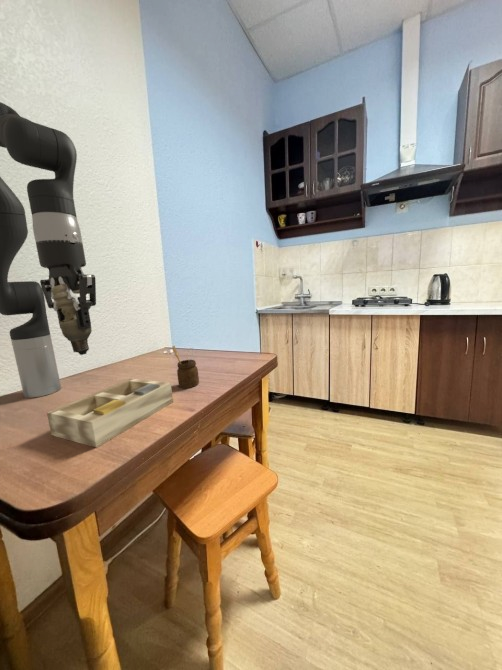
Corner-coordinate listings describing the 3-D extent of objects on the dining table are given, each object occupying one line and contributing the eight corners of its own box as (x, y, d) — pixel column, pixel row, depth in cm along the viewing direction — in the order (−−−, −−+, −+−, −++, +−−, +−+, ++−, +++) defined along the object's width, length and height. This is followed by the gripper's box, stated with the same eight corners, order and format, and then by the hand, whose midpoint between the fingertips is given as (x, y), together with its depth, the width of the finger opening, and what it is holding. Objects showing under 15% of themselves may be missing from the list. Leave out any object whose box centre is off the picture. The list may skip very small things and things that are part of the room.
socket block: (51, 435, 57) (46, 409, 56) (133, 396, 76) (130, 376, 75) (96, 447, 51) (91, 419, 50) (173, 401, 70) (170, 380, 69)
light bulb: (81, 358, 54) (66, 279, 51) (57, 358, 55) (42, 281, 52) (101, 351, 59) (89, 279, 57) (80, 351, 60) (67, 281, 58)
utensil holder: (197, 387, 79) (192, 346, 77) (175, 389, 79) (170, 348, 77) (201, 380, 85) (196, 342, 82) (180, 382, 85) (176, 343, 83)
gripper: (16, 244, 53) (35, 332, 56) (62, 233, 47) (80, 332, 50) (57, 248, 60) (72, 326, 63) (102, 238, 53) (116, 325, 56)
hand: (75, 328), depth 56 cm, fingers closed on light bulb, 5 cm apart
